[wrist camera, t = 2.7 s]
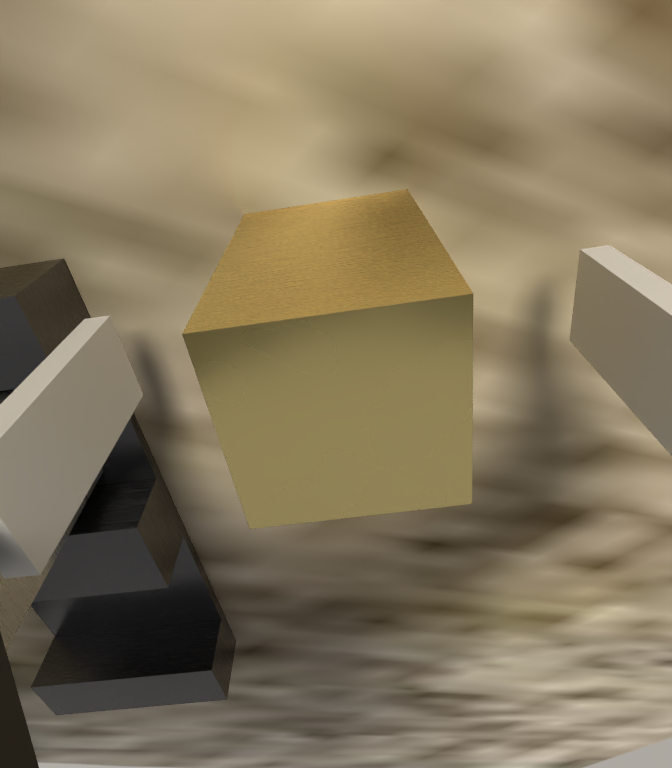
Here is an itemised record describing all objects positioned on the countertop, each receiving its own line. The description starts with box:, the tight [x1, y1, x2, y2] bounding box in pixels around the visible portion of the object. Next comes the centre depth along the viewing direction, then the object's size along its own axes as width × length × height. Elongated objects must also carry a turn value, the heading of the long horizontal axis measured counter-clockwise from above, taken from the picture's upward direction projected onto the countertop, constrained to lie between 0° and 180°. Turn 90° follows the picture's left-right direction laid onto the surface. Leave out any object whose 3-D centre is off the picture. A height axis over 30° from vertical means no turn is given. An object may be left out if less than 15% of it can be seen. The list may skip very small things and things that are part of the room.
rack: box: [0, 259, 236, 715], centre depth 21 cm, size 22×9×3 cm, turn 8°
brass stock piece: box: [182, 189, 473, 529], centre depth 13 cm, size 5×5×8 cm
